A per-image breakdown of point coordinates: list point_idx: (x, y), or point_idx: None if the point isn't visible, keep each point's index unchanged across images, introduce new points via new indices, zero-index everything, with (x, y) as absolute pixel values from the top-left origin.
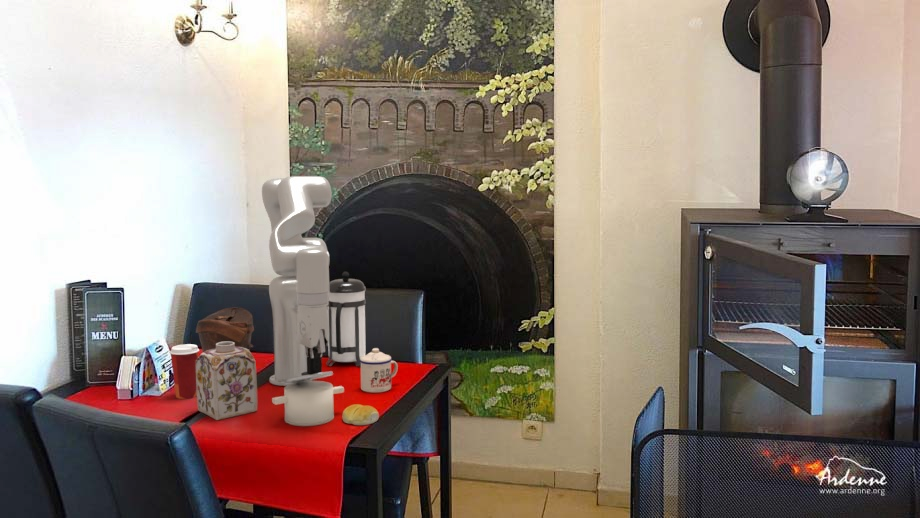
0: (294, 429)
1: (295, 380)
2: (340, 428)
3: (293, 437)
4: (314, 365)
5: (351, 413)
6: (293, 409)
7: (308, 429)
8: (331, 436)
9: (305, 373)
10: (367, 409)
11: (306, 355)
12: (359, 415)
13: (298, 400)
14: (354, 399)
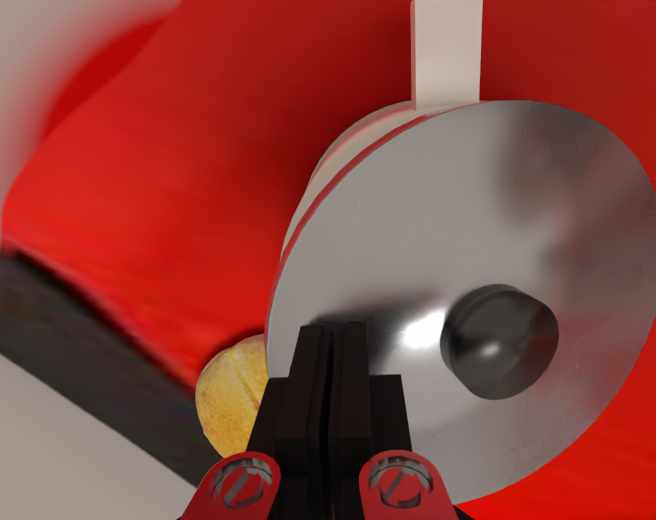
0: (296, 102)
1: (339, 173)
2: (211, 289)
3: (180, 56)
4: (257, 415)
5: (248, 376)
6: (362, 128)
7: (263, 164)
8: (125, 220)
9: (466, 321)
10: (215, 440)
11: (417, 460)
12: (203, 391)
13: (329, 161)
14: (553, 474)
